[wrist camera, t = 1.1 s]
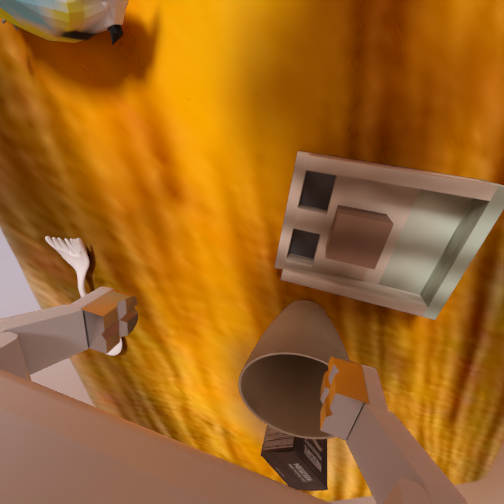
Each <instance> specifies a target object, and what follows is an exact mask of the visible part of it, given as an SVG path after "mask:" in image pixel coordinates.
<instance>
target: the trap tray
mask: <svg viewBox="0 0 504 504" xmlns="http://www.w3.org/2000/svg"><path fill="white" fill-rule="evenodd" d="M338 205H342V206H347V207H352V208H358V209H363V210H368V211H373V212H378V213H383V214H387V216H388V217H389V218H390V220H391V221H392V222H393V224H394V225H393V227H392V230H391V232H390V235H389V237H388V239H387V242H386V244H385V246H384V249H383V251H382V254H381V256H380V258H379V261H378V263H377V266H376V268H375V270H374V269H370V268H366V267H362V266H357V265H353V264H349V263H345V262H340V261H336V260H332V259H328V258H326V243H327V240H328V236H329V233H330V229H331V226H332V223H333V219H334V216H335V213H336V209H337V206H338ZM503 209H504V186H503V185H499V184H496V183H492V182H489V181H485V180H479V179H473V178H467V177H461V176H454V175H448V174H442V173H436V172H429V171H423V170H417V169H411V168H404V167H398V166H392V165H386V164H379V163H373V162H367V161H361V160H354V159H348V158H342V157H336V156H329V155H323V154H317V153H311V152H305V151H298V152H297V157H296V162H295V167H294V172H293V177H292V182H291V187H290V192H289V197H288V202H287V207H286V212H285V217H284V222H283V227H282V232H281V237H280V242H279V247H278V252H277V257H276V262H275V267H274V268H278V269H282V270H283V271H282V276H281V280H283V281H287V282H291V283H295V284H298V285H302V286H306V287H310V288H314V289H318V290H322V291H325V292H329V293H333V294H337V295H341V296H345V297H349V298H352V299H356V300H360V301H364V302H368V303H372V304H376V305H379V306H383V307H387V308H391V309H395V310H399V311H403V312H406V313H410V314H414V315H418V316H422V317H426V318H430V319H433V320H435V319H436V318H437V316H438V314H439V313H440V311H441V309H442V308H443V306H444V305H445V303H446V301H447V300H448V298H449V296H450V295H451V293H452V292H453V290H454V288H455V287H456V285H457V284H458V282H459V280H460V279H461V277H462V275H463V274H464V272H465V271H466V269H467V267H468V266H469V264H470V263H471V261H472V259H473V258H474V256H475V254H476V253H477V251H478V250H479V248H480V246H481V245H482V243H483V242H484V240H485V238H486V237H487V235H488V233H489V232H490V230H491V229H492V227H493V225H494V224H495V222H496V221H497V219H498V217H499V216H500V214H501V212H502V211H503Z"/></svg>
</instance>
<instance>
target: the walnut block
mask: <svg viewBox="0 0 504 504" xmlns="http://www.w3.org/2000/svg"><path fill="white" fill-rule="evenodd" d="M393 225H394V224H393V222H392V221H391V220H390V218H389V217H388V216H387V214H383V213H378V212H373V211H368V210H363V209H358V208H352V207H347V206H342V205H338V206H337V209H336V213H335V216H334V219H333V223H332V226H331V229H330V233H329V236H328V240H327V243H326V258H328V259H332V260H336V261H340V262H345V263H349V264H353V265H357V266H362V267H366V268H370V269H374V270H375V268H376V266H377V263H378V261H379V258H380V256H381V254H382V251H383V249H384V246H385V244H386V242H387V239H388V237H389V235H390V232H391V230H392V227H393Z"/></svg>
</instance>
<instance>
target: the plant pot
mask: <svg viewBox="0 0 504 504" xmlns="http://www.w3.org/2000/svg"><path fill="white" fill-rule="evenodd" d="M331 356H334V357H337V358H341V359H344V360H347V361H350V360H349V357H348V355H347V352H346V350H345V347H344V345H343V343H342V341H341V339H340V337H339V334H338V332H337V330H336V329H335V327H334V325H333V323H332V321H331V320H330V318H329V317H328V315H327V314H326V312H325V311H324V309H323V308H322V307H321V306H320V305H318V304H317V303H315V302H313V301H309V300H297V301H294V302H292V303H291V304H289V305H288V306H287V307H286V308H285V309H284V310H283V311H282V312H281V313H280V314H279V315H278V316H277V317H276V318H275V319H274V320H273V322H272V323H271V324H270V325H269V327H268V328H267V329H266V331H265V332H264V334H263V335H262V337H261V338H260V340H259V341H258V343H257V344H256V346H255V348H254V350H253V351H252V353H251V355H250V357H249V359H248V360H247V362H246V364H245V366H244V368H243V370H242V372H241V374H240V377H239V392H240V395H241V397H242V399H243V401H244V403H245V404H246V406H247V407H248V409H249V410H250V411H251V412H252V413H253V414H254V415H255V416H256V417H257V418H259V419H260V420H261V421H263V422H264V423H265V424H267V425H269V426H270V427H272V428H274V429H276V430H278V431H281V432H283V433H286V434H289V435H292V436H296V437H301V438H307V439H328V438H334V437H336V436H333V435H331V434H328V433H326V432H323V431H320V411H321V408H322V406H323V403H322V402H321V400H320V393H321V385H322V380H323V377H324V374H325V372H327V371H328V363H329V360H330V358H331Z"/></svg>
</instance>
